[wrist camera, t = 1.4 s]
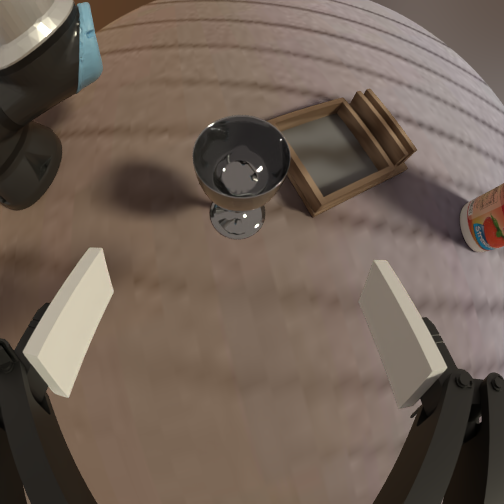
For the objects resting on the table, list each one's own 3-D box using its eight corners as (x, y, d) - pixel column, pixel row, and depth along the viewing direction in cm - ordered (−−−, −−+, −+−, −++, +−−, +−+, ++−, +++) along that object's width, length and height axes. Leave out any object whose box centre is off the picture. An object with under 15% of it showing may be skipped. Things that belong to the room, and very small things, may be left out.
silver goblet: (221, 252, 35) (214, 213, 21) (197, 198, 37) (179, 133, 22) (278, 227, 37) (308, 176, 22) (252, 176, 38) (264, 104, 23)
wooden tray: (261, 136, 39) (266, 111, 33) (357, 104, 42) (369, 83, 36) (312, 217, 37) (326, 201, 31) (404, 170, 40) (424, 154, 34)
